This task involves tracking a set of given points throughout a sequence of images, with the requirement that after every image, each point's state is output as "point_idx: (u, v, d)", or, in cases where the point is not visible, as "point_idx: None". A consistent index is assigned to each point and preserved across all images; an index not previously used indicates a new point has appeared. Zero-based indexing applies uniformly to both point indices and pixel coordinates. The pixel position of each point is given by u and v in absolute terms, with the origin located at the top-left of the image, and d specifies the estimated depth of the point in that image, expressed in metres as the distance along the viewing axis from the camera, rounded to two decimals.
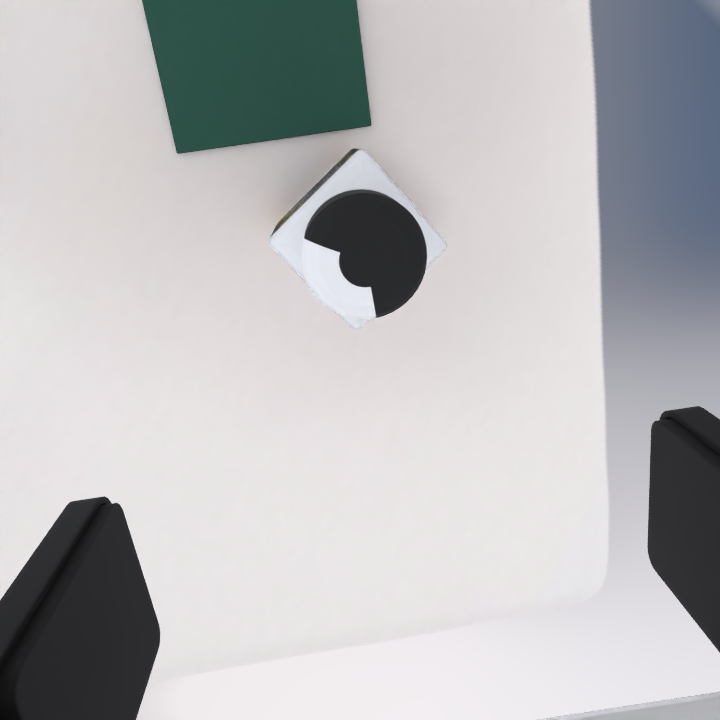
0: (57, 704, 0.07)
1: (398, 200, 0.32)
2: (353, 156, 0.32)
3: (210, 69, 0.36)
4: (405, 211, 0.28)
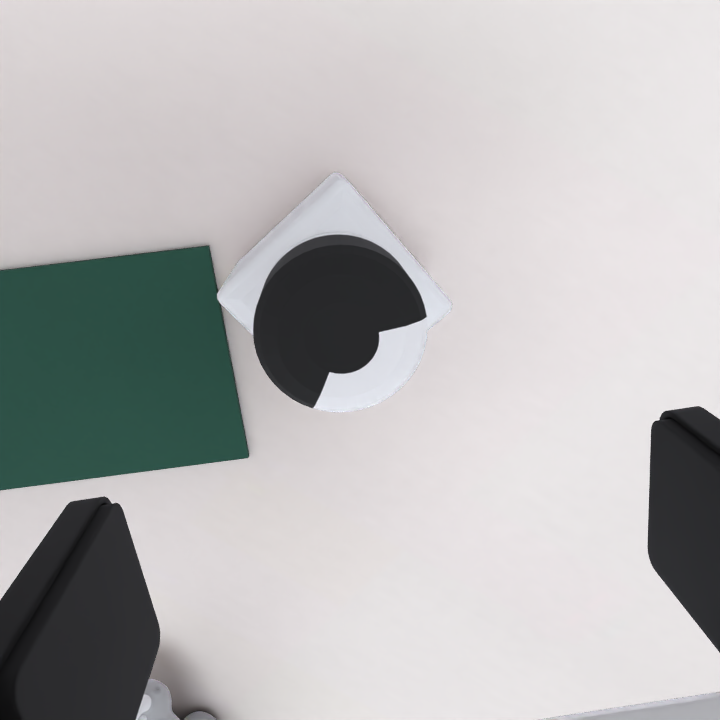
0: (57, 704, 0.07)
1: (278, 251, 0.24)
2: (225, 307, 0.25)
3: (160, 419, 0.33)
4: (276, 278, 0.20)
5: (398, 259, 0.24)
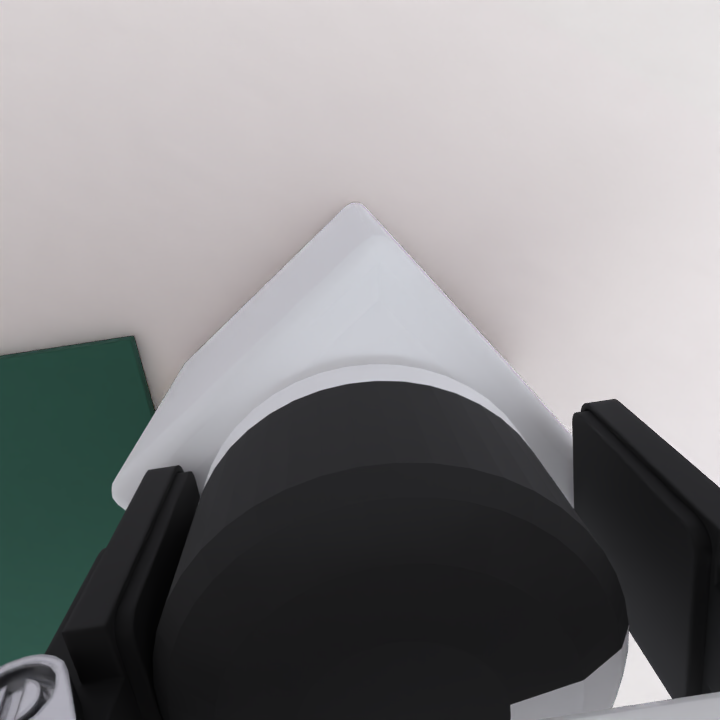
0: None
1: (238, 400, 0.11)
2: None
3: None
4: (207, 563, 0.07)
5: (504, 405, 0.11)
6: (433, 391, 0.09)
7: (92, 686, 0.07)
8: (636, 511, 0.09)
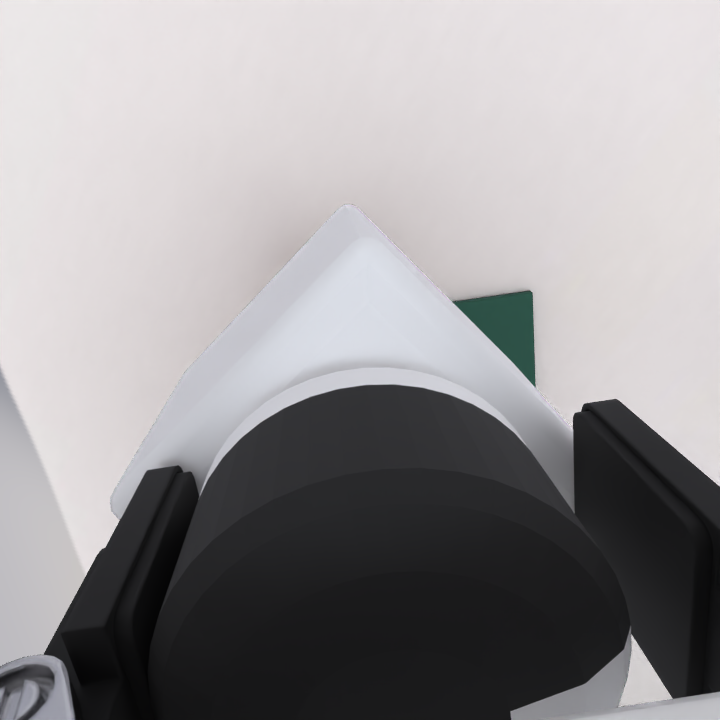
0: None
1: (232, 408, 0.11)
2: None
3: None
4: (197, 578, 0.07)
5: (501, 404, 0.11)
6: (425, 393, 0.09)
7: (91, 686, 0.07)
8: (637, 511, 0.09)
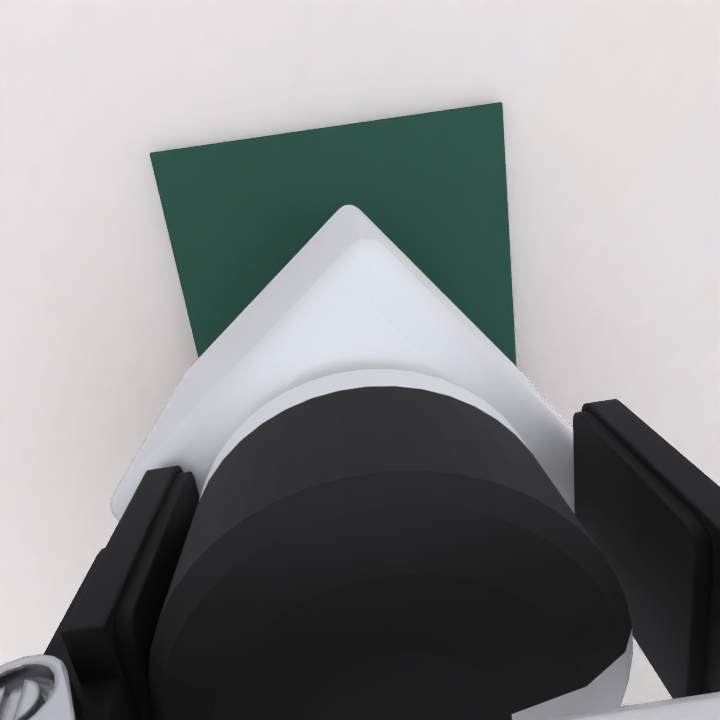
0: None
1: (233, 410, 0.11)
2: None
3: (426, 242, 0.22)
4: (197, 580, 0.07)
5: (501, 405, 0.11)
6: (425, 395, 0.09)
7: (91, 687, 0.07)
8: (637, 511, 0.09)
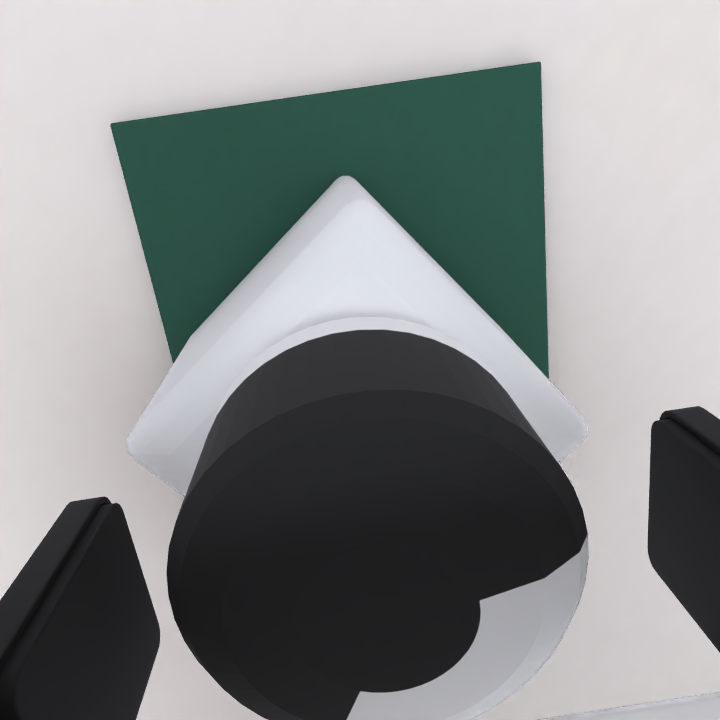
0: (57, 704, 0.07)
1: (238, 357, 0.12)
2: (145, 466, 0.13)
3: (446, 233, 0.18)
4: (209, 484, 0.08)
5: (483, 354, 0.12)
6: (411, 337, 0.10)
7: None
8: None
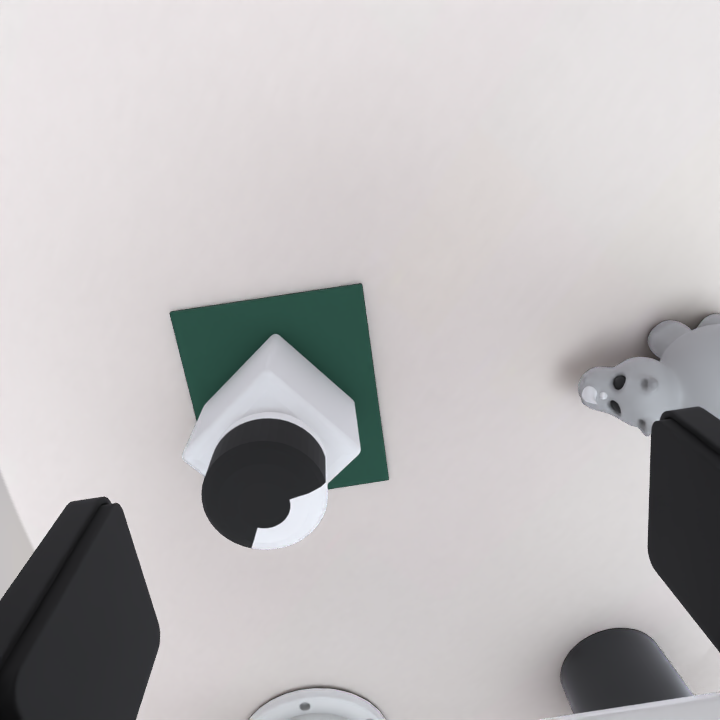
0: (57, 704, 0.07)
1: (224, 424, 0.32)
2: (189, 464, 0.33)
3: (324, 357, 0.39)
4: (214, 466, 0.28)
5: (314, 422, 0.33)
6: (279, 421, 0.30)
7: None
8: None
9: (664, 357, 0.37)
